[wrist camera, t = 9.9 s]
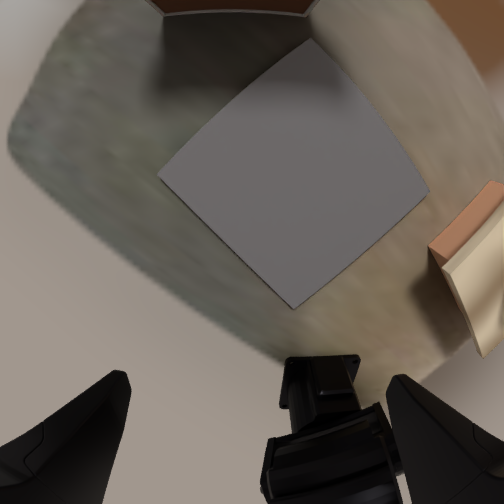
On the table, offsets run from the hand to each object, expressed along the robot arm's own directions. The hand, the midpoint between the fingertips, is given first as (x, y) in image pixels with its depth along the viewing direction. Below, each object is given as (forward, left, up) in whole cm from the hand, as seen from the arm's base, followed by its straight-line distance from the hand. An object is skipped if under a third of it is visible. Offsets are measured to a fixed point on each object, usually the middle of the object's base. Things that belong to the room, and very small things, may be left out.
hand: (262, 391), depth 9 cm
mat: (+5, -3, -12) cm, 13 cm away
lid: (+1, -19, -8) cm, 20 cm away
